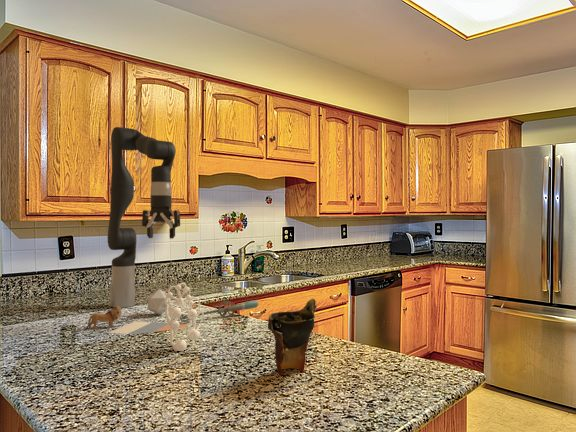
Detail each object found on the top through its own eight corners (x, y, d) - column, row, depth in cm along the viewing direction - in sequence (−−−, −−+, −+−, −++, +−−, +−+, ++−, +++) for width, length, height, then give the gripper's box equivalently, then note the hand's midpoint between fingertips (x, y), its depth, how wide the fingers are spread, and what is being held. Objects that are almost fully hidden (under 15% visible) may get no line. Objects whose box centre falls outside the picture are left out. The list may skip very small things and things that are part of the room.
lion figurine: (120, 325, 165) (120, 304, 164) (122, 327, 161) (122, 306, 161) (83, 329, 159) (83, 307, 159) (85, 332, 155) (85, 310, 155)
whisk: (174, 331, 171) (170, 313, 172) (250, 315, 189) (246, 299, 190) (183, 326, 162) (180, 307, 164) (262, 310, 180) (258, 293, 182)
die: (164, 318, 175) (164, 291, 175) (143, 317, 177) (143, 290, 177) (174, 313, 184) (174, 287, 184) (153, 312, 185) (153, 287, 185)
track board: (89, 332, 154) (89, 331, 154) (117, 321, 170) (117, 320, 170) (167, 337, 148) (167, 336, 148) (188, 325, 164) (188, 324, 164)
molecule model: (196, 272, 134) (186, 271, 136) (159, 298, 123) (149, 296, 126) (213, 329, 140) (203, 327, 143) (179, 359, 130) (169, 356, 132)
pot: (297, 363, 123) (297, 295, 123) (332, 372, 116) (332, 300, 116) (251, 381, 110) (251, 305, 110) (289, 393, 103) (289, 311, 103)
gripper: (138, 194, 171) (138, 238, 171) (174, 194, 168) (174, 239, 168) (148, 195, 178) (148, 237, 179) (183, 194, 175) (183, 238, 175)
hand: (161, 238), depth 173 cm, fingers open, 8 cm apart
